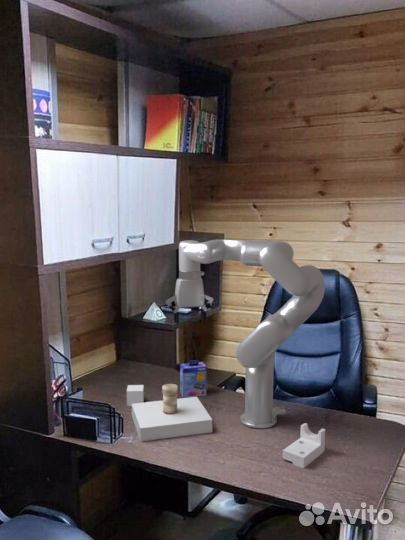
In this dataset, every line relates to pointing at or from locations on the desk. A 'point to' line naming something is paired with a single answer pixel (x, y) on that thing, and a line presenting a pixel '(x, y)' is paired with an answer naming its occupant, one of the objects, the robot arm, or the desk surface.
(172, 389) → the beech leg
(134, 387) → the white cube
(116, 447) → the desk surface
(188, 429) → the socket block
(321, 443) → the bracket
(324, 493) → the desk surface
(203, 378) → the ink cartridge box
